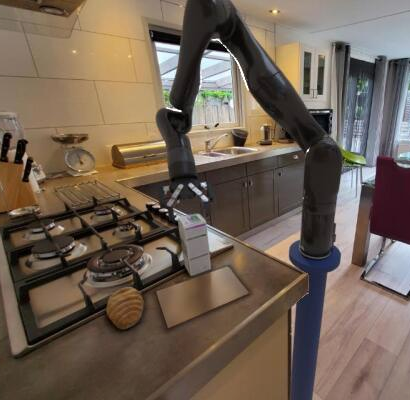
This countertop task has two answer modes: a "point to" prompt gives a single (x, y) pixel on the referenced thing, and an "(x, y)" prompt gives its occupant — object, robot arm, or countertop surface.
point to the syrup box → (194, 243)
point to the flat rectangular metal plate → (199, 295)
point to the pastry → (125, 307)
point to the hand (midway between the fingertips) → (190, 218)
